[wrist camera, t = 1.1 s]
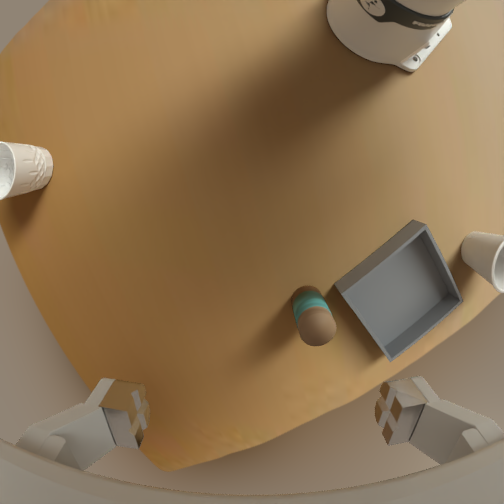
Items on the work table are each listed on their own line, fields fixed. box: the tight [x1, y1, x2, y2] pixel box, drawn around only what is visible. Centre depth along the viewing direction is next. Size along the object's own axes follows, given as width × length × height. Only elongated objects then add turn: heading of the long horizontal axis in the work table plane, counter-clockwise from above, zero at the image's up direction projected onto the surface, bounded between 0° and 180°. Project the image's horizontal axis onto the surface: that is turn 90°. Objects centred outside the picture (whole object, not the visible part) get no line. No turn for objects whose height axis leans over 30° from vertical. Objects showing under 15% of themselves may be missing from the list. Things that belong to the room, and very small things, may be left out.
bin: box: [334, 220, 463, 362], centre depth 41 cm, size 15×15×4 cm
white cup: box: [0, 142, 53, 200], centre depth 34 cm, size 8×8×10 cm
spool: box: [291, 286, 336, 346], centre depth 40 cm, size 4×4×9 cm
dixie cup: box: [461, 231, 504, 293], centre depth 37 cm, size 8×8×10 cm
